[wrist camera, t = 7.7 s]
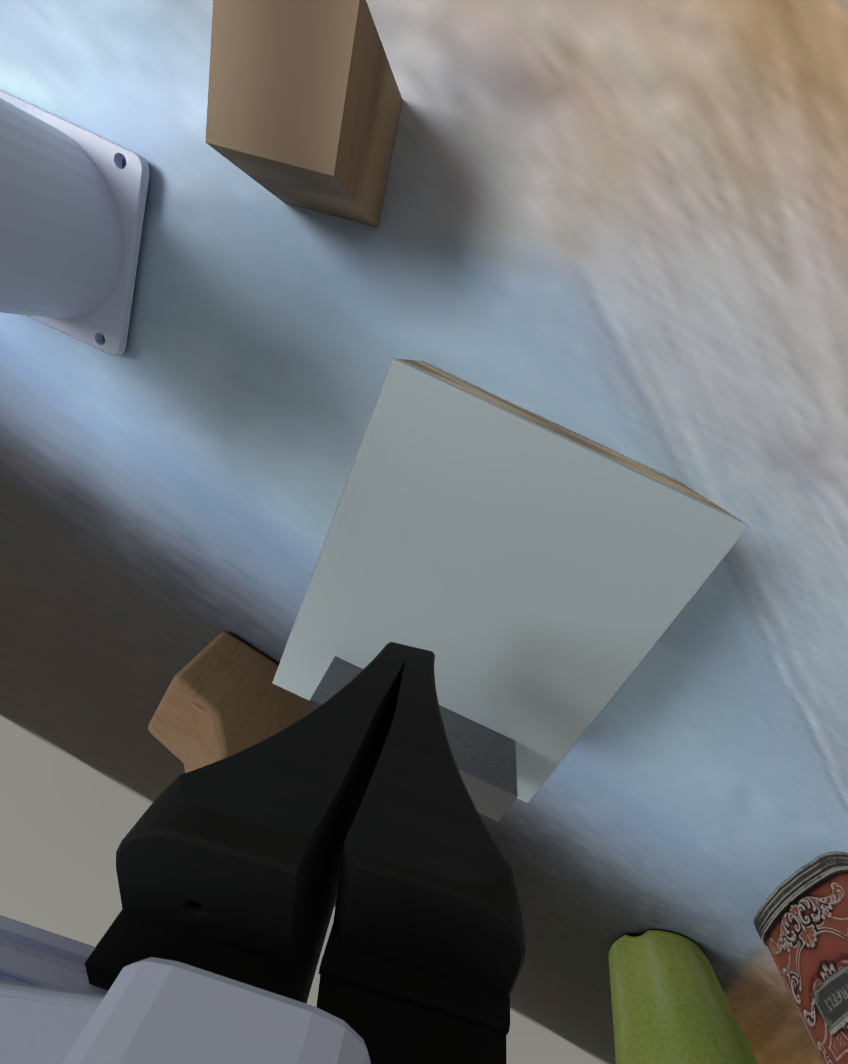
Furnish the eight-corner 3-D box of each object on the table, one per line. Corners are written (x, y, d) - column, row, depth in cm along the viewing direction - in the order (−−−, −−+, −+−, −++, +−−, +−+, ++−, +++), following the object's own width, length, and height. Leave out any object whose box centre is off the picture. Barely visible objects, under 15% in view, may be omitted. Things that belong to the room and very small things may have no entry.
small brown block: (283, 202, 18) (205, 142, 13) (298, 73, 16) (216, -46, 11) (378, 227, 17) (333, 176, 13) (402, 99, 16) (361, -12, 11)
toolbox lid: (282, 668, 20) (240, 727, 16) (399, 359, 14) (370, 356, 11) (526, 782, 20) (531, 864, 16) (733, 515, 14) (801, 558, 11)
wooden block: (198, 675, 27) (-286, 1164, 10) (225, 626, 25) (-301, 1117, 9) (320, 752, 28) (47, 1333, 11) (354, 709, 26) (93, 1319, 9)
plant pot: (605, 893, 28) (647, 1105, 20) (761, 935, 27) (872, 1175, 19) (566, 974, 31) (589, 1183, 23) (704, 1014, 30) (777, 1246, 22)
